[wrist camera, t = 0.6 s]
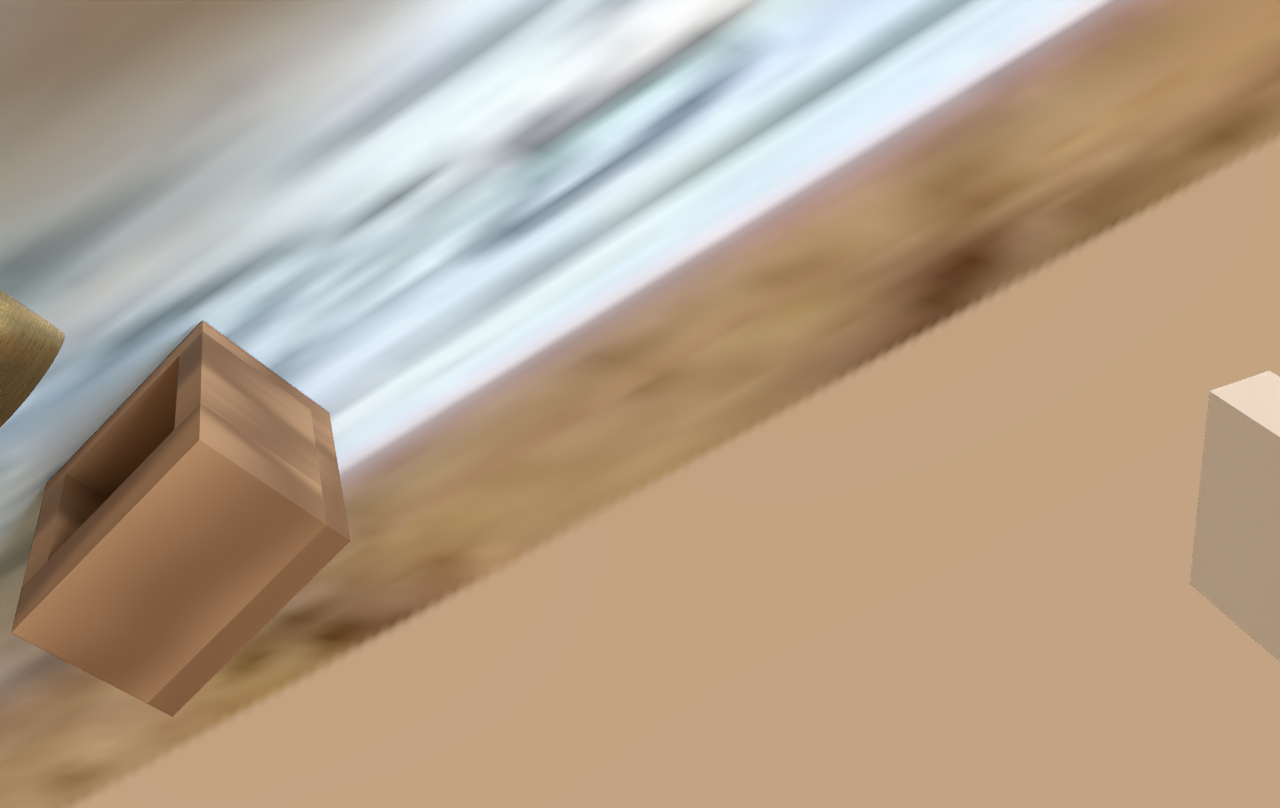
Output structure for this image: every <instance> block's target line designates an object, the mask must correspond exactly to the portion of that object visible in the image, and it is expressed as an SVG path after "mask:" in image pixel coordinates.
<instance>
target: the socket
mask: <svg viewBox="0 0 1280 808" xmlns="http://www.w3.org/2000/svg"><path fill="white" fill-rule="evenodd" d="M349 542H350V536H349V530H348V524H347V518H346V512H345V506H344V500H343V494H342V488H341V482H340V476H339V470H338V464H337V458H336V452H335V446H334V440H333V434H332V428H331V422H330V416H329V412H327V411H326V410H325V409H323V408H322V407H321V406H319V405H318V404H316V403H315V402H314V401H312V400H311V399H310V398H308V397H307V396H305V395H304V394H303V393H301V392H300V391H299V390H297V389H296V388H295V387H293V386H292V385H290V384H289V383H288V382H286V381H285V380H284V379H282V378H281V377H280V376H278V375H277V374H275V373H274V372H273V371H271V370H270V369H269V368H267V367H266V366H265V365H263V364H262V363H260V362H259V361H258V360H256V359H255V358H254V357H252V356H251V355H249V354H248V353H247V352H245V351H244V350H243V349H241V348H240V347H239V346H237V345H236V344H234V343H233V342H232V341H230V340H229V339H228V338H226V337H225V336H224V335H222V334H221V333H219V332H218V331H217V330H215V329H214V328H213V327H211V326H210V325H208V324H207V323H206V322H204V321H202V322H201V323H200V324H199V325H198V326H197V327H196V328H195V329H194V330H193V331H192V332H191V333H190V334H189V335H188V337H187V338H186V339H185V340H184V341H183V342H182V343H181V344H180V345H179V346H178V347H177V348H176V349H175V350H174V351H173V352H172V353H171V354H170V355H169V356H168V357H167V358H166V359H165V361H164V362H163V363H162V364H161V365H160V366H159V367H158V368H157V369H156V370H155V371H154V372H153V373H152V374H151V375H150V376H149V377H148V378H147V379H146V380H145V381H144V382H143V383H142V385H141V386H140V387H139V388H138V389H137V390H136V391H135V392H134V393H133V394H132V395H131V396H130V397H129V398H128V399H127V400H126V401H125V402H124V403H123V404H122V405H121V406H120V407H119V409H118V410H117V411H116V412H115V413H114V414H113V415H112V416H111V417H110V418H109V419H108V420H107V421H106V422H105V423H104V424H103V425H102V426H101V427H100V428H99V429H98V430H97V431H96V432H95V434H94V435H93V436H92V437H91V438H90V439H89V440H88V441H87V442H86V443H85V444H84V445H83V446H82V447H81V448H80V449H79V450H78V451H77V452H76V453H75V454H74V455H73V456H72V458H71V459H70V460H69V461H68V462H67V463H66V464H65V465H64V466H63V467H62V468H61V469H60V470H59V471H58V472H57V473H56V474H55V475H54V476H53V477H52V478H51V479H50V480H49V482H48V483H47V484H46V489H45V493H44V497H43V501H42V505H41V510H40V514H39V518H38V522H37V526H36V531H35V535H34V539H33V543H32V547H31V552H30V556H29V560H28V564H27V568H26V573H25V577H24V581H23V585H22V589H21V594H20V598H19V602H18V606H17V610H16V615H15V619H14V623H13V627H12V631H11V633H12V634H14V635H16V636H18V637H20V638H22V639H24V640H26V641H28V642H30V643H32V644H34V645H35V646H37V647H39V648H41V649H43V650H45V651H47V652H49V653H51V654H53V655H55V656H57V657H59V658H60V659H62V660H64V661H66V662H68V663H70V664H72V665H74V666H76V667H78V668H80V669H82V670H84V671H86V672H87V673H89V674H91V675H93V676H95V677H97V678H99V679H101V680H103V681H105V682H107V683H109V684H111V685H112V686H114V687H116V688H118V689H120V690H122V691H124V692H126V693H128V694H130V695H132V696H134V697H136V698H138V699H139V700H141V701H143V702H145V703H147V704H149V705H151V706H153V707H155V708H157V709H159V710H161V711H163V712H164V713H166V714H168V715H170V716H172V717H173V716H174V715H175V714H176V713H177V712H178V711H179V710H180V709H181V708H182V707H183V706H184V705H185V704H186V703H187V702H188V701H189V700H190V699H191V698H192V697H193V696H194V695H195V694H196V693H197V692H198V691H199V690H200V689H201V688H202V687H203V686H204V685H205V684H206V683H207V682H208V681H209V680H210V679H211V678H212V677H213V676H214V675H215V674H216V673H217V672H218V671H219V670H220V669H221V668H222V667H223V666H224V665H225V664H226V663H227V662H228V661H229V660H230V659H231V658H232V657H233V656H234V655H235V654H236V653H237V652H238V651H239V650H240V649H241V648H242V647H243V646H244V645H245V644H246V643H247V642H248V641H249V640H250V639H251V638H253V637H254V636H255V635H256V634H257V633H258V632H259V631H260V630H261V629H262V628H263V627H264V626H265V625H266V624H267V623H268V622H269V621H270V620H271V619H272V618H273V617H274V616H275V615H276V614H277V613H278V612H279V611H280V610H281V609H282V608H283V607H284V606H285V605H286V604H287V603H288V602H289V601H290V600H291V599H292V598H293V597H294V596H295V595H296V594H297V593H298V592H299V591H300V590H301V589H302V588H303V587H304V586H305V585H306V584H307V583H308V582H309V581H310V580H311V579H312V578H313V577H314V576H315V575H316V574H317V573H318V572H319V571H320V570H321V569H322V568H323V567H324V566H325V565H326V564H327V563H328V562H329V561H330V560H331V559H332V558H333V557H334V556H335V555H336V554H337V553H338V552H339V551H340V550H341V549H342V548H344V547H345V546H346V545H347V544H348V543H349Z"/></svg>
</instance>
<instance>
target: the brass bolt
mask: <svg viewBox="0 0 1280 808" xmlns="http://www.w3.org/2000/svg"><path fill="white" fill-rule="evenodd" d="M64 337H65V334H64V332H62V331H61V330H59V329H58V328H56V327H55V326H53V325H52V324H50V323H49V322H48V321H46V320H45V319H43V318H42V317H40V316H39V315H37V314H36V313H34V312H33V311H31V310H30V309H28V308H27V307H25V306H24V305H22V304H21V303H19V302H18V301H17V300H15V299H14V298H12V297H11V296H9V295H8V294H6V293H5V292H3V291H2V290H0V427H1V426H2V425H3V424H4V423H5V422H6V421H7V420H8V419H9V418H10V417H11V416H12V415H13V413H14V412H15V411H16V410H17V409H18V408H19V407H20V406H21V404H22V403H23V402H24V401H25V400H26V398H27V397H28V396H29V395H30V393H31V392H32V391H33V390H34V388H35V387H36V386H37V384H38V383H39V382H40V380H41V379H42V377H43V376H44V375H45V373H46V372H47V370H48V369H49V367H50V366H51V364H52V362H53V361H54V359H55V357H56V356H57V354H58V352H59V350H60V348H61V346H62V344H63V341H64Z"/></svg>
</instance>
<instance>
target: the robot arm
mask: <svg viewBox="0 0 1280 808" xmlns="http://www.w3.org/2000/svg"><path fill="white" fill-rule="evenodd" d="M1190 585H1191V586H1192V587H1194V588H1195V589H1196V590H1197V591H1198V592H1199V593H1200V594H1202V595H1203V596H1204V597H1205V598H1206V599H1207V600H1209V601H1210V602H1211V603H1212V604H1213V605H1214V606H1215V607H1217V608H1218V609H1219V610H1220V611H1221V612H1222V613H1224V614H1225V615H1226V616H1227V617H1228V618H1229V619H1231V620H1232V621H1233V622H1234V623H1235V624H1236V625H1238V626H1239V627H1240V628H1241V629H1242V630H1243V631H1245V632H1246V633H1247V634H1248V635H1249V636H1250V637H1251V638H1253V639H1254V640H1255V641H1256V642H1257V643H1258V644H1260V645H1261V646H1262V647H1263V648H1264V649H1265V650H1267V651H1268V652H1269V653H1270V654H1271V655H1272V656H1273V657H1275V658H1276V659H1277V660H1278V661H1279V662H1280V377H1279V376H1277V375H1275V374H1274V373H1272V372H1270V371H1267V372H1264V373H1261V374H1258V375H1255V376H1252V377H1250V378H1247V379H1244V380H1241V381H1238V382H1235V383H1232V384H1229V385H1226V386H1223V387H1220V388H1217V389H1214V390H1211V391H1209V402H1208V411H1207V420H1206V431H1205V440H1204V449H1203V459H1202V468H1201V478H1200V488H1199V497H1198V507H1197V516H1196V527H1195V536H1194V546H1193V555H1192V564H1191V574H1190Z"/></svg>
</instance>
